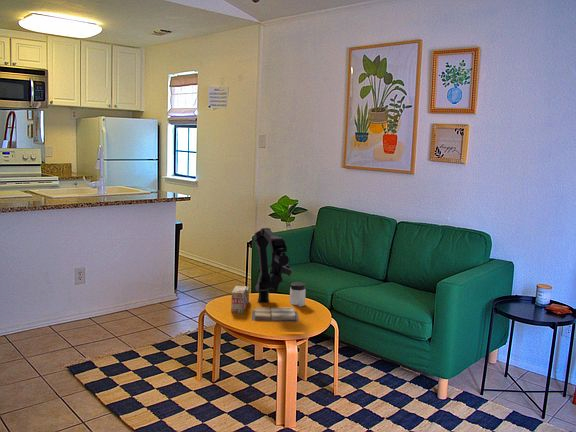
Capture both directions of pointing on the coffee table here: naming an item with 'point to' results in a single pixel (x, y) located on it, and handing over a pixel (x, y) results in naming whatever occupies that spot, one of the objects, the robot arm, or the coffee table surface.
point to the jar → (297, 293)
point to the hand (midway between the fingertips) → (275, 289)
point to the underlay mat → (275, 320)
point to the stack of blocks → (239, 299)
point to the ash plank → (283, 313)
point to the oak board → (262, 313)
